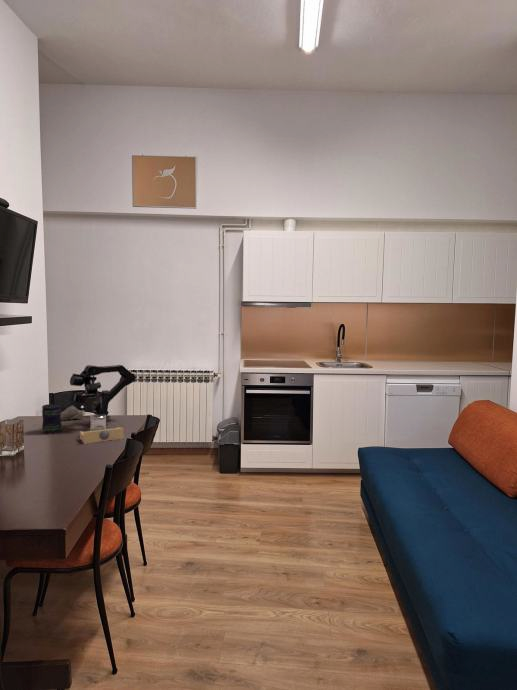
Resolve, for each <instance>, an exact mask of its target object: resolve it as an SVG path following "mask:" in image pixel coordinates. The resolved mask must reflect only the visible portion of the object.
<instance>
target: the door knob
mask: <svg viewBox="0 0 517 690" xmlns="http://www.w3.org/2000/svg"><path fill="white" fill-rule="evenodd" d="M89 419H90V430H88V431H87V432H89V431H97V430H106V429H107V425H106V423H107V415H104V414H91V415H89Z"/></svg>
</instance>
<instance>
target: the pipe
mask: <svg viewBox="0 0 517 690" xmlns="http://www.w3.org/2000/svg"><path fill="white" fill-rule="evenodd" d="M85 414H86V412H85V410H79V409H78V408H77V407H76V406H75V405H70V406H68V407H66V409H64V410H63V411H61V422H63V421H69V420H68V419H70V420H76V419H78V418H79V417H84V416H85Z"/></svg>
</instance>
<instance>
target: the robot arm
mask: <svg viewBox="0 0 517 690" xmlns="http://www.w3.org/2000/svg"><path fill="white" fill-rule="evenodd" d="M105 373H107V374H108V373H118V374H119V375H120V378H119V381H118V382H117V383H116V384H115V385H114V386H113V387H112V388H111V389H110V390H108V389H106V390H104V389H103V390H101V392H100V393H98V389H101V388H102V384H101V382H100V381H97V382H96V380H97V377H96V376H98V375H100V374H105ZM135 380H136V375H135V374H134V373H132V372H131V371H129V370H128V369H127V368H126V367H125V366H124V365H122V364H117V365H114V364H113V365H103V366H100V365H99V366H98V365H93V364H89V365H85V367H84V369H83V371H81V372H80V373H78V374H77V373H72V376H71V377H70V378H69V385H70V386H73V387H74V386H75V387H82V386H84V392H85V393H83V392H75V394H74V397H73V398H74V399H73V400H74V402H75V403H78V404H81V405H82V407H84V409H85V410H88V405H87V402H86V399H87V398H88V399H91V398H95V400H94V401H92V404H91V405H90V409H91V411H92V412H93V415H95V414H104V415H106V416H108V415H109V411H108V410H107V407H108V405H109V403H110V402H111V401H112V400H113V399H114V398H115V397H116V396H117V395H118V394H119V393H120V392H121V391H122V390H123V389H124V388H125V387H126V386H129V385H131V384H132V383H134V382H135ZM106 426H108V423H107V422H106Z"/></svg>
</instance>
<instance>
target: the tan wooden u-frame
mask: <svg viewBox="0 0 517 690" xmlns="http://www.w3.org/2000/svg"><path fill="white" fill-rule="evenodd" d="M88 431H89V432H88ZM88 431H79V440H80V441H81V440H82V441H81V442H82V443H83V444H84V445H87V443H88V444H94V443H101V442H102V443H103V441H104V442H110V441H109V440H112V441H117V440H118V439H119V440H124V437H125V436H124V431H125V429H124V427H115V428H106V430H97V431H91V430H88Z"/></svg>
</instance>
